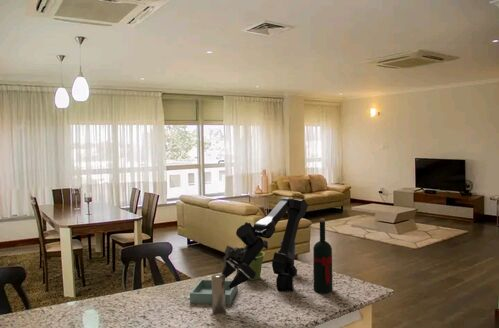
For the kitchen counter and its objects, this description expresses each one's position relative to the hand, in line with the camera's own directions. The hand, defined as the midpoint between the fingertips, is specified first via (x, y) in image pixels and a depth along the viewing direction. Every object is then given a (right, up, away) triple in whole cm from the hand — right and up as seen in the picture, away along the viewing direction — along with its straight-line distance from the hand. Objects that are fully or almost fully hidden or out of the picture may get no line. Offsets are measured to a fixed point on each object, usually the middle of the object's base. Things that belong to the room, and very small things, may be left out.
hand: (224, 284), depth 150 cm
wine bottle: (+40, -8, +17) cm, 44 cm away
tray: (-5, -9, +14) cm, 17 cm away
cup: (+28, -7, +42) cm, 51 cm away
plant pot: (+10, -8, +35) cm, 37 cm away
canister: (-2, -10, 0) cm, 10 cm away
